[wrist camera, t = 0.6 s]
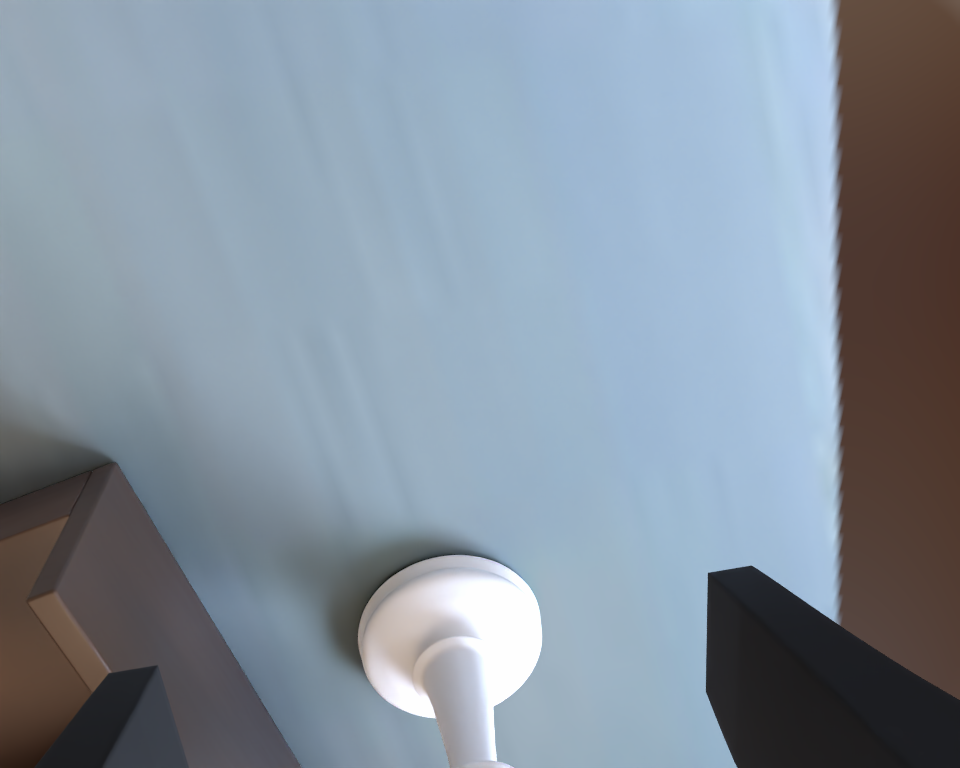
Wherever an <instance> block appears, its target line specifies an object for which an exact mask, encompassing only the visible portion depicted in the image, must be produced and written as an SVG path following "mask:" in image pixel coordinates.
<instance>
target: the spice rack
mask: <svg viewBox="0 0 960 768" xmlns="http://www.w3.org/2000/svg"><path fill="white" fill-rule="evenodd" d="M155 665H158V667H159V670H160V674H161V677H162V680H163V684H164V687H165V690H166V693H167V697H168V700H169V703H170V707H171V710H172V713H173V717H174V720H175V723H176V726H177V730H178V733H179V736H180V740H181V743H182V746H183V750H184V753H185V756H186V760H187V763H188V766H189V768H301V766H300V764H299V763H298V761H297V759H296V758H295V756H294V754H293V753H292V751H291V749H290V748H289V746H288V744H287V743H286V741H285V740H284V738H283V736H282V735H281V733H280V731H279V730H278V728H277V726H276V725H275V723H274V721H273V720H272V718H271V716H270V715H269V713H268V711H267V710H266V708H265V707H264V705H263V703H262V702H261V700H260V698H259V697H258V695H257V693H256V692H255V690H254V688H253V687H252V685H251V683H250V682H249V680H248V679H247V677H246V675H245V674H244V672H243V670H242V669H241V667H240V665H239V664H238V662H237V660H236V659H235V657H234V655H233V654H232V652H231V650H230V649H229V647H228V646H227V644H226V642H225V641H224V639H223V637H222V636H221V634H220V632H219V631H218V629H217V627H216V626H215V624H214V622H213V621H212V619H211V618H210V616H209V614H208V613H207V611H206V609H205V608H204V606H203V604H202V603H201V601H200V599H199V598H198V596H197V594H196V593H195V591H194V589H193V588H192V586H191V585H190V583H189V581H188V580H187V578H186V576H185V575H184V573H183V571H182V570H181V568H180V566H179V565H178V563H177V561H176V560H175V558H174V557H173V555H172V553H171V552H170V550H169V548H168V547H167V545H166V543H165V542H164V540H163V538H162V537H161V535H160V533H159V532H158V530H157V528H156V527H155V525H154V524H153V522H152V520H151V519H150V517H149V515H148V514H147V512H146V510H145V509H144V507H143V505H142V504H141V502H140V500H139V499H138V497H137V496H136V494H135V492H134V491H133V489H132V487H131V486H130V484H129V482H128V481H127V479H126V477H125V476H124V474H123V472H122V471H121V469H120V467H119V466H118V464H117V463H116V462H113V463H110V464H108V465H105V466H102V467H100V468H97V469H95V470H93V472H92V471H88V472H86V473H83V474H81V475H78V476H75V477H73V478H70V479H67V480H65V481H62V482H59V483H57V484H54V485H51V486H49V487H46V488H43V489H41V490H38V491H36V492H33V493H30V494H28V495H25V496H22V497H20V498H17V499H14V500H12V501H9V502H6V503H4V504H1V505H0V768H34V767H35V766H36V765H37V763H38V762H39V761H40V760H41V758H42V757H43V756H44V754H45V753H46V752H47V751H48V749H49V748H50V747H51V746H52V744H53V743H54V742H55V740H56V739H57V738H58V737H59V735H60V734H61V733H62V731H63V730H64V729H65V728H66V726H67V725H68V724H69V722H70V721H71V720H72V719H73V717H74V716H75V715H76V713H77V712H78V711H79V710H80V708H81V707H82V706H83V704H84V703H85V702H86V701H87V699H88V698H89V697H90V696H91V694H92V693H93V692H94V691H95V689H96V688H97V687H98V686H99V685H100V683H101V682H102V681H103V680H104V678H105V677H106V676H107V675H108V673H113V672H119V671H125V670H131V669H137V668H143V667H149V666H155Z"/></svg>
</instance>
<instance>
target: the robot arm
mask: <svg viewBox="0 0 960 768" xmlns="http://www.w3.org/2000/svg"><path fill="white" fill-rule="evenodd" d="M706 693H707V695H708V698H709V701H710V703H711V706H712V708H713V711H714V713H715V716H716V718H717V721H718V723H719V726H720V728H721V731H722V733H723V736H724V738H725V740H726V743H727V745H728V747H729V750H730V752H731V755H732V757H733V759H734V762H735V764H736V765H737V767H738V768H960V700H958V699H957V698H955V697H953V696H952V695H950V694H948V693H946V692H945V691H943V690H941V689H940V688H938V687H936V686H934V685H933V684H931V683H929V682H928V681H926V680H924V679H922V678H921V677H919V676H917V675H916V674H914V673H912V672H911V671H909V670H908V669H906V668H904V667H903V666H901V665H900V664H898V663H896V662H895V661H893V660H891V659H890V658H888V657H887V656H885V655H884V654H882V653H881V652H879V651H877V650H876V649H874V648H873V647H871V646H870V645H868V644H867V643H865V642H864V641H862V640H860V639H859V638H857V637H856V636H854V635H853V634H851V633H850V632H848V631H847V630H845V629H844V628H842V627H841V626H839V625H838V624H837V623H835V622H834V621H832V620H831V619H829V618H828V617H826V616H825V615H823V614H822V613H820V612H819V611H818V610H816V609H815V608H813V607H812V606H810V605H809V604H807V603H806V602H804V601H803V600H802V599H800V598H799V597H797V596H796V595H794V594H793V593H791V592H790V591H789V590H787V589H786V588H784V587H783V586H781V585H780V584H778V583H777V582H776V581H774V580H773V579H771V578H770V577H768V576H767V575H765V574H764V573H762V572H761V571H759V570H758V569H756V568H755V567H753V566H747V567H741V568H735V569H729V570H723V571H717V572H711V573H708V601H707V659H706ZM34 768H189V766H188V763H187V760H186V756H185V753H184V750H183V746H182V743H181V740H180V736H179V733H178V730H177V726H176V723H175V720H174V717H173V713H172V710H171V707H170V703H169V700H168V697H167V693H166V690H165V687H164V684H163V680H162V677H161V674H160V670H159V667H158V665H155V666H149V667H143V668H137V669H131V670H125V671H119V672H113V673H108V675H107V676H106V677H105V678H104V680H103V681H102V682H101V683H100V685H99V686H98V687H97V688H96V689H95V691H94V692H93V693H92V694H91V696H90V697H89V698H88V699H87V701H86V702H85V703H84V704H83V706H82V707H81V708H80V710H79V711H78V712H77V713H76V715H75V716H74V717H73V719H72V720H71V721H70V722H69V724H68V725H67V726H66V728H65V729H64V730H63V731H62V733H61V734H60V735H59V737H58V738H57V739H56V740H55V742H54V743H53V744H52V746H51V747H50V748H49V749H48V751H47V752H46V753H45V754H44V756H43V757H42V758H41V760H40V761H39V762H38V763H37V765H36V766H35V767H34Z"/></svg>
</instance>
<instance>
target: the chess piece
mask: <svg viewBox="0 0 960 768" xmlns="http://www.w3.org/2000/svg"><path fill="white" fill-rule="evenodd" d="M541 644H542V629H541V619H540V611H539V607H538V604H537V601H536V598H535V596H534V594H533V592H532V591H531V589H530V588H529V586H528V585H527V584H526V583H525V582H524V580H523V579H522V578H521V577H519V576H518V575H517V574H516V573H515V572H513V571H512V570H510V569H509V568H507V567H505V566H503V565H502V564H499V563H497V562H495V561H492V560H489V559H485V558H481V557H476V556H469V555H448V556H440V557H435V558H431V559H427V560H424V561H421V562H418V563H415V564H413V565H411V566H409V567H407V568H405V569H403V570H401V571H400V572H398V573H396V574H395V575H394V576H392V577H391V578H390V579H388V580H387V581H386V582H385V583H384V584H383V585H382V586H381V587H380V588H379V589H378V590H377V591H376V592H375V593H374V595H373V596H372V597H371V599H370V600H369V602H368V604H367V605H366V607H365V609H364V611H363V614H362V617H361V620H360V624H359V629H358V646H359V652H360V655H361V658H362V663H363V667H364V670H365V673H366V675H367V678H368V679H369V681H370V683H371V684H372V686H373V687H374V689H375V690H376V691H377V692H378V693H379V694H380V695H381V696H382V697H383V698H384V699H385V700H386V701H388V702H389V703H391V704H392V705H394V706H395V707H397V708H399V709H401V710H403V711H406V712H408V713H411V714H414V715H418V716H423V717H429V718H436V720H437V723H438V726H439V730H440V733H441V736H442V739H443V743H444V746H445V749H446V753H447V756H448V761H449V765H450V768H514V767H512V766H510V765H508V764H505V763H502V762H498V761H497V759H496V748H495V733H494V715H493V706H495V705H497V704H498V703H500V702H502V701H503V700H505V699H506V698H508V697H509V696H510V695H511V694H513V693H514V692H515V691H516V690H517V689H518V688H519V687H520V686H521V685H522V684H523V683H524V682H525V680H526V679H527V678H528V676H529V675H530V673H531V672H532V670H533V668H534V666H535V664H536V662H537V660H538V657H539V654H540V650H541Z"/></svg>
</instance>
